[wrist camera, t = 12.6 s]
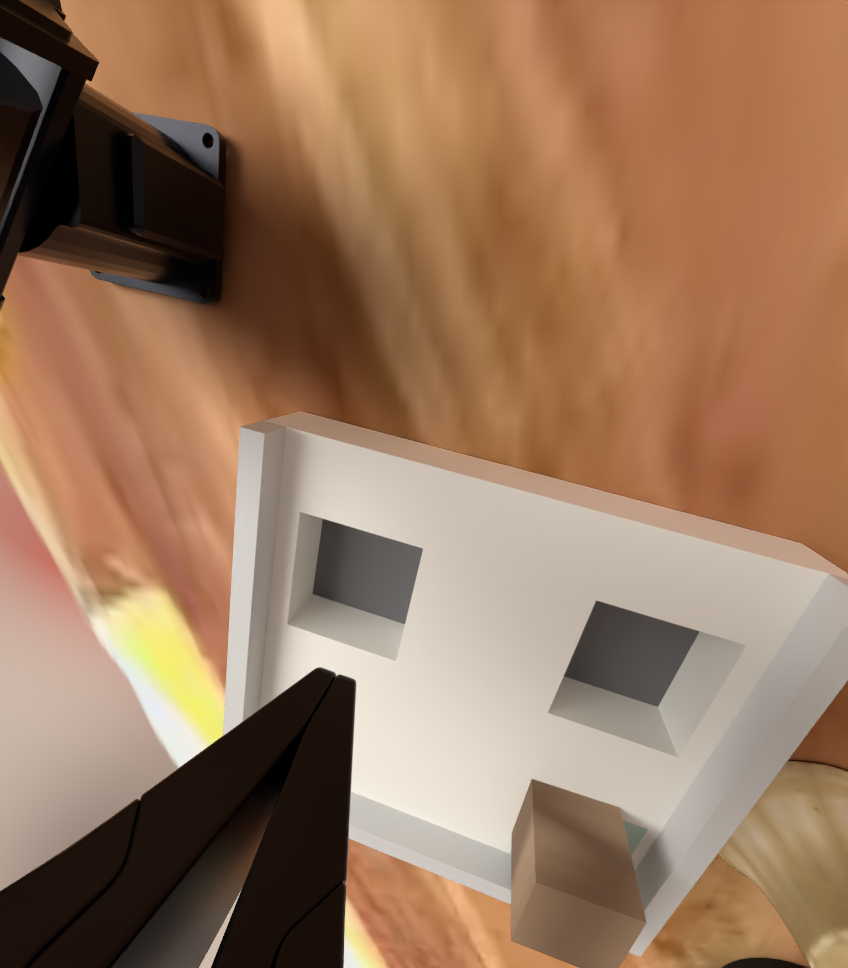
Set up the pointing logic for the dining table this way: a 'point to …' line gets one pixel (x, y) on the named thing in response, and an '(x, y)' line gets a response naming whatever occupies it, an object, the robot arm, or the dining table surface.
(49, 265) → the dining table surface
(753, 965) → the mug
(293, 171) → the dining table surface
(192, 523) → the dining table surface
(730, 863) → the hand bell
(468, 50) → the dining table surface
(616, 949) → the walnut block
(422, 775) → the box
